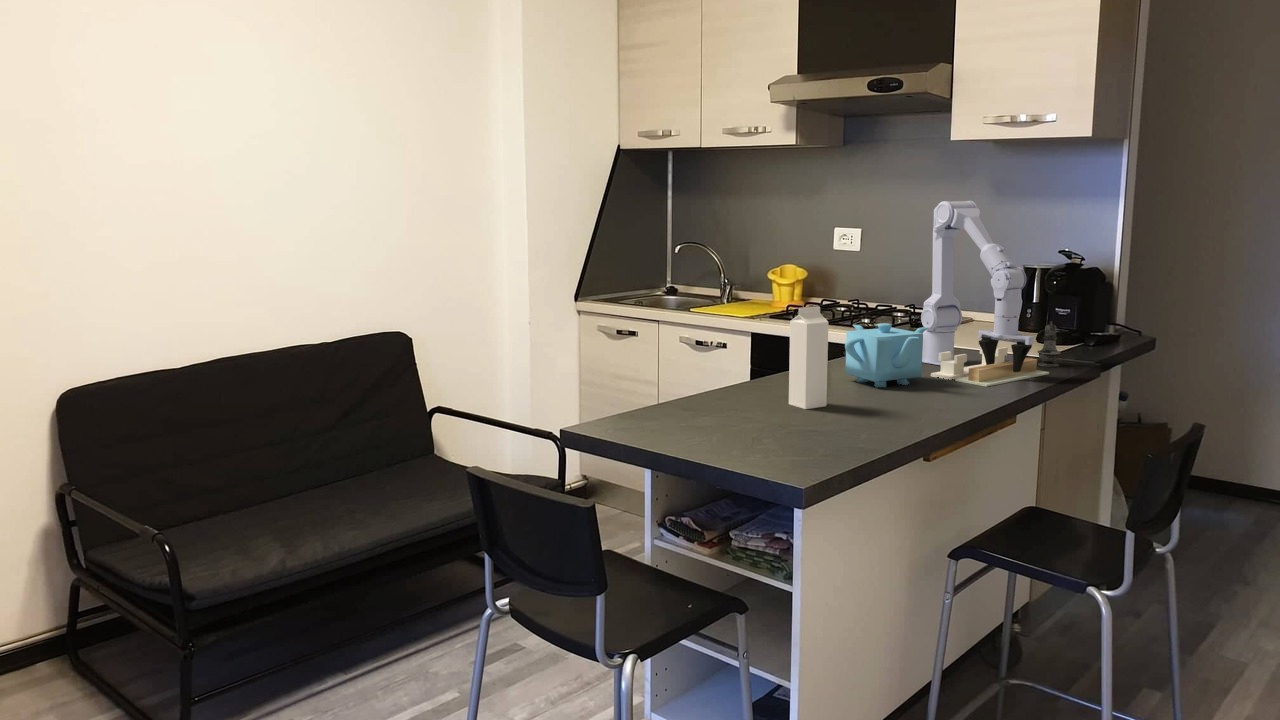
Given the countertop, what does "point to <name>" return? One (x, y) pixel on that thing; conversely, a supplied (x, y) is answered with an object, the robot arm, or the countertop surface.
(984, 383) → the sage mat
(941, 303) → the robot arm
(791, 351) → the milk
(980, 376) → the oak bar
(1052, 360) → the grey chess piece
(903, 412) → the countertop surface
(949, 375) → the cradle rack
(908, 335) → the teakettle
